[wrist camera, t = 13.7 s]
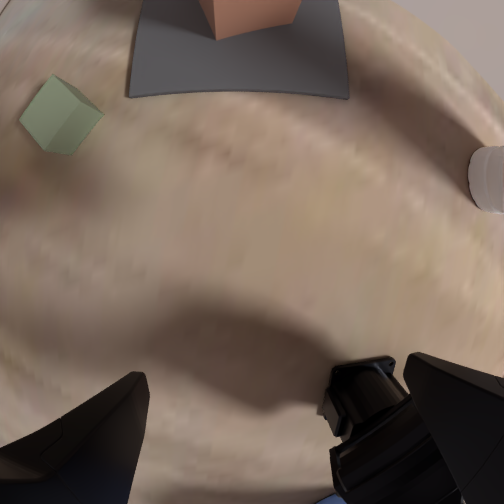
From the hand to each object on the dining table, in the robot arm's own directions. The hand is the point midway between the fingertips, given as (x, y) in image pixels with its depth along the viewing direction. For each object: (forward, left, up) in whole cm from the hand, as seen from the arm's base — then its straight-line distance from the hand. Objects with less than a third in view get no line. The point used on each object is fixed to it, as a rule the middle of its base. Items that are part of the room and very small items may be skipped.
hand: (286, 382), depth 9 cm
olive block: (+14, -12, -13) cm, 23 cm away
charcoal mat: (+1, -21, -13) cm, 25 cm away
